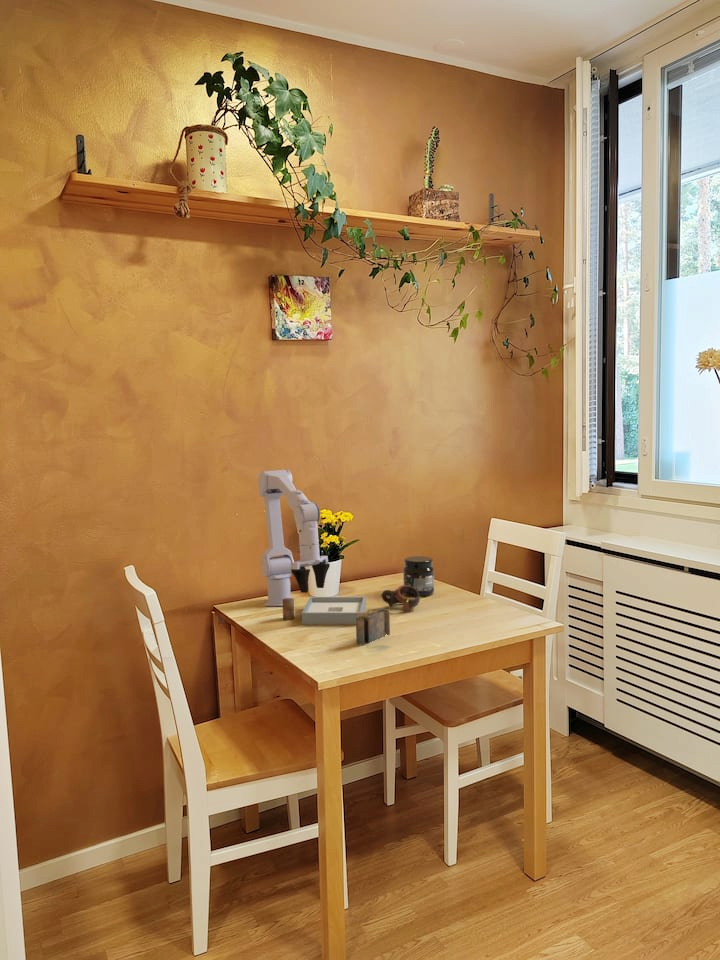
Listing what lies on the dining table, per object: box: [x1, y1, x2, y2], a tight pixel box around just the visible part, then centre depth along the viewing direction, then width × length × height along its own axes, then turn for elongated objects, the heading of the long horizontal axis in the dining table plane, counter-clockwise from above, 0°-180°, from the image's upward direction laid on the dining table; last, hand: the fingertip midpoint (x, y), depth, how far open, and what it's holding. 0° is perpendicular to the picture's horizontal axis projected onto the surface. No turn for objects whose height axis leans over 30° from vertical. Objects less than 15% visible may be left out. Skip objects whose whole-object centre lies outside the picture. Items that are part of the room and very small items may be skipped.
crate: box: [301, 596, 367, 626], centre depth 226 cm, size 18×18×4 cm
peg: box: [282, 598, 295, 621], centre depth 224 cm, size 3×3×6 cm
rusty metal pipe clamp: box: [381, 584, 420, 613], centre depth 232 cm, size 12×10×8 cm
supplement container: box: [402, 555, 435, 598], centre depth 250 cm, size 10×10×12 cm
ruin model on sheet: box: [355, 607, 391, 646], centre depth 203 cm, size 11×3×10 cm, turn 139°
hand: (312, 590), depth 217 cm, fingers open, 7 cm apart
